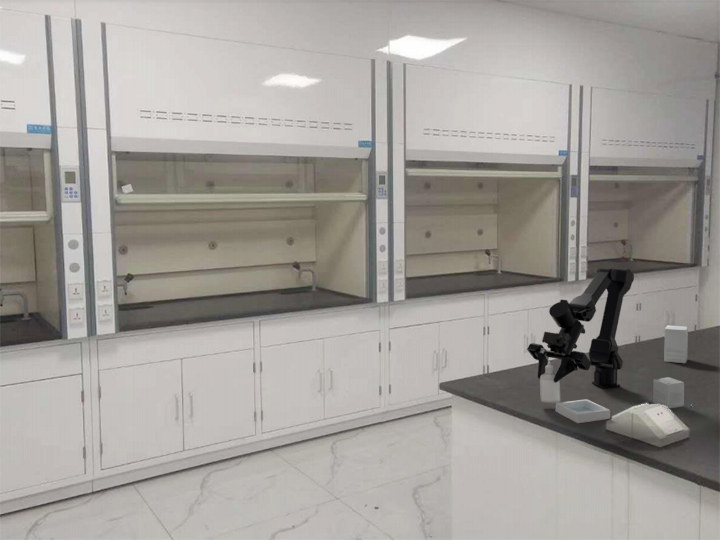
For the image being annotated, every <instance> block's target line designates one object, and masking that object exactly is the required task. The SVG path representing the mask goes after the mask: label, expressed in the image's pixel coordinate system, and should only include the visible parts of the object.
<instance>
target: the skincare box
mask: <svg viewBox="0 0 720 540" xmlns="http://www.w3.org/2000/svg"><path fill="white" fill-rule="evenodd" d="M652 385H653V386H652V387H653V391H652V392H653V393H652V394H653V397H652V401H653V402H652V403H653V404H655V403H660V404H664V405H666V406H668V407H669V408H668V409H674V408H683V407H684V406H685V382H683V381H681V380H678V379H675V378H672V377H661V378H654V379H653V383H652Z"/></svg>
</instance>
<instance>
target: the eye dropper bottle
mask: <svg viewBox="0 0 720 540" xmlns="http://www.w3.org/2000/svg"><path fill="white" fill-rule="evenodd" d="M548 361H549V360H548ZM554 367H555V366H554V365H552V362H551V361H549V362H548V365H547V366H545V373H544V374H542V375H541V376H540V379H539V389H540V391H539V392H540V395H539V396H540V402H542V403H547V404H556V403H561V379H560V380H559V381H558V382H556V383H555V382H554V377H555V375H556V373H555V368H554Z"/></svg>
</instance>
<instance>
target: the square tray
mask: <svg viewBox="0 0 720 540" xmlns="http://www.w3.org/2000/svg"><path fill="white" fill-rule="evenodd" d="M557 412H558V414H560V415H561V416H563V417H565V418H566V419H567V418H568V420H571V421H572V422H574V423H576V424H581V423H582V424H583V423H590V422H596V421H604V420H609V419H611V409H609V408H607V407H604V406H602V405H600V404H598V403H595V402H593V401H592V400H589V399H588V398H585V399H577V400H571V401H570V400H569V401H560V402H558V403H555V413H557Z"/></svg>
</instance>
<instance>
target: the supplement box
mask: <svg viewBox="0 0 720 540" xmlns="http://www.w3.org/2000/svg"><path fill="white" fill-rule="evenodd" d="M688 340H689V327H688V326H683V325H669V324H667V325H666V326H665V327H664V349H663V351H664V352H663V353H664V354H663V355H664V359H663V361H664V362H667V363H678V364H679V363H680V364H686V363H687V361H688V345H689V344H688Z"/></svg>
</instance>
